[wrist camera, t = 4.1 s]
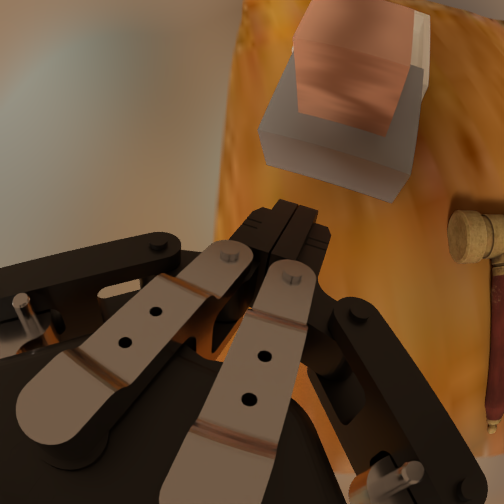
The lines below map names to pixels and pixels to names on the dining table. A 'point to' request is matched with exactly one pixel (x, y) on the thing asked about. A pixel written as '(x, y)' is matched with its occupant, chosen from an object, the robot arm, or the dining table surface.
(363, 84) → the terracotta block
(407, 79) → the grey platform
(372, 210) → the dining table surface
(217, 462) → the robot arm
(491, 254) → the gavel
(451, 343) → the dining table surface
